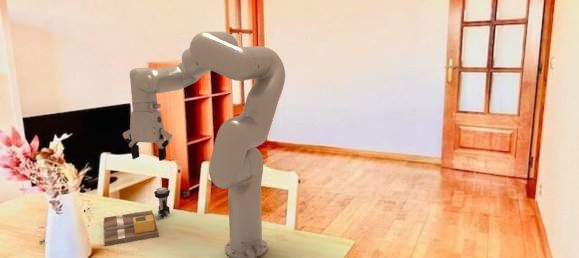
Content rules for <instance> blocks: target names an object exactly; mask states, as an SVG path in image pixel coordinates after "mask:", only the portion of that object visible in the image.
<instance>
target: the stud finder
mask: <svg viewBox="0 0 579 258" xmlns="http://www.w3.org/2000/svg"><path fill="white" fill-rule="evenodd" d="M153 215H154V214H153ZM153 215H146V216H140V217H133V222H134V231H135V234H136V233H142V232H148V231H154V230H155V228H154V219H155V218H154V219H153Z"/></svg>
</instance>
